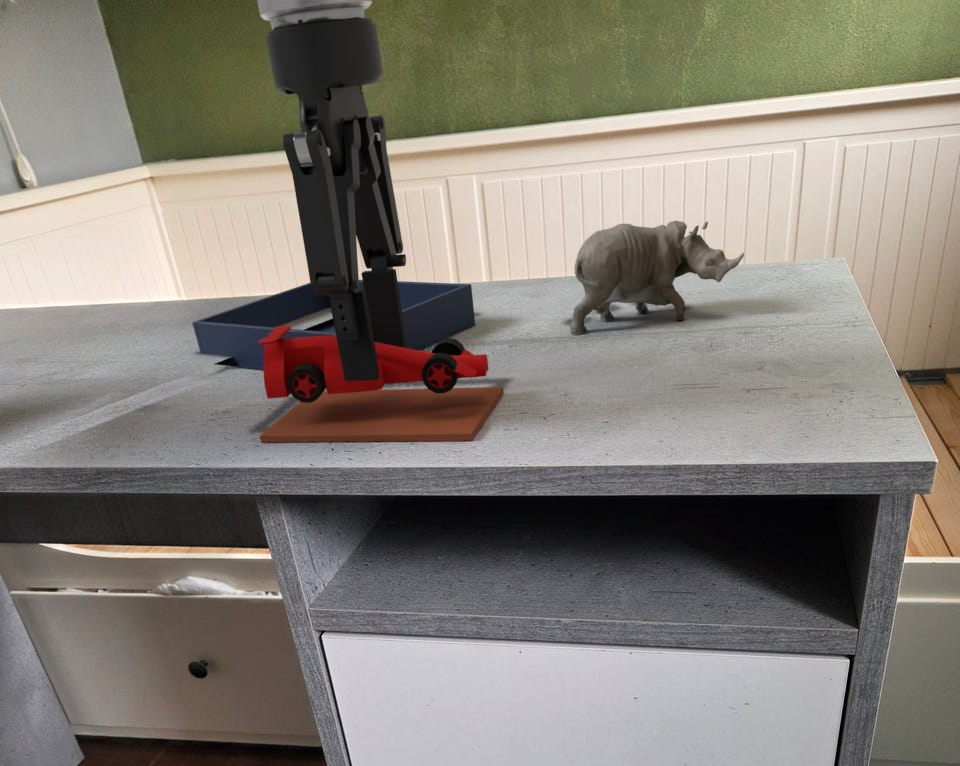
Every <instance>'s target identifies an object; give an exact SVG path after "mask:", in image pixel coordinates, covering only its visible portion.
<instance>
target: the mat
mask: <svg viewBox="0 0 960 766" xmlns="http://www.w3.org/2000/svg"><path fill="white" fill-rule="evenodd" d="M504 391H505V390H504V386H485V387H483V386H481V387H479V386H478V387H453V388H452V389H451V390H450V391H448V392H446V393H435V392H433V391H431V390H429V389H428V388H409V389H408V388H401V389H399V388H398V389H380V390H374V391H364V392H353V393H340V394H327V390H324V392H323V393H322V394H321V395H320V397H319V398H318V399H317V400H316V401H314V402H311V403H303V402H301V401H299V402H298V403H297V404H296V405H294V406H293V407H292V408H291V409H289V410H288V411H287V412H286V413H285V414H283V416H281V417H280V418H278V420H276V421H275V422H274V423H273V424H271V426H269V427H268V428H266V430H265V431H263V432H262V433H261V434H259V440H260V443H341V442H342V443H350V442H353V443H355V442H356V443H357V442H361V443H362V442H367V443H368V442H463V441H464V442H467V441H468V442H471V441H473V440H474V438H475V437H476V435H477V434H478V433H479V431H480V429H481V428H482V426H483V425H484V424H485V422H486V420H487V419H488V418H489V416H490V415H491V413H492V411H493V410H494V409H495V407H496V406H497V404H498V402H499V401H500V400H501V398H502V396H503V395H504Z"/></svg>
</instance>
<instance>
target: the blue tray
mask: <svg viewBox="0 0 960 766" xmlns="http://www.w3.org/2000/svg"><path fill="white" fill-rule="evenodd" d="M397 281H398V280H397ZM398 287H399V294H400V301H401V307H402V314H403V321H404V327H405V334H406V341H407V347H408V349H413V350H418V351H423V350H424V349H426V348H429V347H431V346H434V345H436V344H437V343H438V342H439V341H440V340H442V339H445V338H451V337H453V336H455V335H457V334H459V333H461V332H463V331H465V330H468V329H470V328H472V327H475V326H476V317H475V307H474V298H473V289H472V284H471V283H451V282H425V281H403V280H402V281H401V280H399V281H398ZM359 290H364V286H363V280H362V279H359ZM328 308H330V309H331V306H330V301H329V296H328V295H318V296H317V295H315V293H314V291H313V289H312V287H311V283H310V282H308V283H304V284H302V285H298V286H296V287H292V288H289V289H287V290H284V291H281V292H278V293H275V294H272V295H269V296H266V297H263V298H260V299H257V300H254V301H251V302H248V303H245V304H242V305H239V306H235V307H234V308H231V309H227V310H224V311H221V312H219V313H216V314H212V315H209V316H207V317H204V318H200V319H197V320H195V321H192V322H191V323H192V327H193V331H194V334H195V338H196V341H197V345H198V349H199V352H200V354H204V355H212V356H213V355H214V356H222V357H228V358H226V359H223V360H221V361H218V362H215V363H214V365H219V366H225V367H226V366H227V367H234V368H240V369H241V368H242V369H250V370H259V371H264V346H265V344H258V342H259V341H260V340H261V339H263V338H265V337H268V336H269V333H271V332H273V329H274V328H275V327H277V326H283V325H285V324H288V323H291V322H293V321H296V320H298V319H301V318H304V317H307V316H309V315H312V314H314V313H317V312H320V311H322V310H326V309H328ZM312 336H336V332H335V327H334V322H333V318H330V319H327V320H324V321H323V322H319V323H317V324H315V325H311V326H309V327H306V328H304V329H295V328H291V329H290V330H289V331H288V332H287V333H286V334H285V335H284V336H283V337H282V339H288V338H300V337H312Z"/></svg>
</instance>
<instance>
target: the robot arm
mask: <svg viewBox="0 0 960 766" xmlns="http://www.w3.org/2000/svg"><path fill="white" fill-rule="evenodd" d="M256 2H257V6H258V13H259V17H260V18H262V19H263V20H264V21H266V22H270V28H271V30H268V31H267V32H266V33H267V36H265V38H264V39H265V44H266V48H267V54H268V59H269V64H270V69H271V73H272V74H271V75H272V79H273V84H274V88H275V90H276V91H277V92H278V93H279V94H280V95H282V96H283V95H284V96H286V95H295V94H296V96H297V97H298V108H299V109H298V110H299V127H300V128H299V130H298V131H295V132H287V133H284V134H283V135H282V145H283V148H284V152H285V155H286V158H287V162H288V166H289V168H290V171H291V175H292V180H293V181H292V182H293V186H294V187H293V188H294V192H295V199H296V205H297V211H298V216H299V223H300V228H301V229H300V230H301V235H302V240H303V246H304V253H305V258H306V259H305V260H306V263H307V270H308V277H309V283H311V287H312V289H313V291H314V293H315V295H317V296H318V295H328V296H329V301H330V306H331V308H330V311H331V316H332V319H333V322H334V327H335V332H336V337H337V343H338V348H339V353H340V358H341V364H342V369H343V374H344V379H345V381H361V380H378V379H379V378H380V372H379V367H378V361H377V355H376V349H375V343H374V342H378V343H383V344H388V345H393V346H398V347H403V348H408V347H407V341H406V334H405V327H404V321H403V314H402V307H401V301H400V294H399V287H398V275H397V267H398V268H400V267H405V266H406V265H407V256H406V254H405V253H403V251H404V243H403V238H402V231H401V227H400V226H401V225H400V219H399V213H398V208H397V203H396V202H397V201H396V197H395V191H394V186H393V179H392V174H391V167H390V162H389V156H388V147H387V135H386V133H387V132H386V122H385V119H384V116H383V115H381V114H377V115H370V114H369V110H368V107H367V103H366V100H365V96H364V93H363V86H366V85H371V84H378V83H379V82H381V80H382V78H383V75H384V74H383V73H384V71H383V63H382V56H381V49H380V43H379V35H378V29H377V23H374V21H373V19H372V18H371V17H370V18H369V17H366V13H365V10H367V9H369V8H370V6H371V5H372V3H373V0H256ZM357 243H358V245H359V249H360V253H361V256H362V259H363V262H364V266H365V268H366V269H369V270H364V271H363V272H361V280H363V286H364V290H359V280H360V278H359V264H358V263H359V262H358V245H357ZM402 253H403V254H402ZM370 269H371V270H370Z"/></svg>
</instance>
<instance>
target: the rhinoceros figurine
mask: <svg viewBox="0 0 960 766" xmlns="http://www.w3.org/2000/svg"><path fill="white" fill-rule="evenodd" d="M708 224H709V222H708V221H705V222H704V223H703V224H702V227H701V230H706V229H707V228H708ZM699 227H700V226H699V225H697V224H696V225H695V226H694V228H693V230H691V231H688V233H689V234H688V235H686V232H687V228H688V226H687V224H686V222H684V221H679V220H672V221H668V223H667V224H666V225H664V224H660V225H658V226H654V227H648V226H638V225H633V224H632V223H619V224H616V225H614V226H612V227H609V228H605V229H601V230H597V231H595V232H593V233H592V234H591V235H590V236H588V238H586V239H585V240H584V241H583V243H582V244H581V247H580V248H579V250H578V252H577V255H576V258H575V263H574V268H573V269H574V275H575V278H576V279H577V280H578V282H580V283H581V285H582V287H583V290H584V297H583V298H582V299H581V301H580V302H578V304H576V305H575V307H574V309H573V314H572V319H571V320H572V321H571V322H570V324H569V328H570V330H569V331H570V333H572V334H573V335H576V336H577V335H584V334H586V333H588V332H589V331H588V329H587V327H586V325H585V319H586V317H587V316H589V315H591V313H592V312H593V311H596V313H598V314H599V321H602V322H605V323H606V322H609V323H611V321H612V319H615V316H614V314H613V312H612V311H611V310H610V307H611V304H613V303H622V304H635V303H636V304H635V309H636V313H635V314H636V315H637V314H647V313H646V312H648V313H650V310H649V308H648V305H647V304H649V305H654V306H662V307H663V306H667V305H672V306H673V307H674V308H675V311H676V317H675V320H676V321H677V320H682V321H684V320H686V319H685V318H686V317H685V310H686V303H685V300H684V298H683V296H681V294H680V293H679V292H678V291H677V289H676V288H675V286H674V281H675V279H677V278H679V277H682V276H684V275H686V274H689V273H690V274H691V273H692V274H694V275H697V276H698V277H699V278H700V279H701V280H714V281H716V282H717V283H721V281H722V280H723V278H724V277H725V275H726V274H728V273H729V272H730V271H731V270H733V269H735V268H737V266H739V264H740V263H741V261H742V260H743V258H744V256H745V252H742V253H741V254H740V255H738V256H737V257H736V258H733V259H729V258H726V255H725V252H724V250H722V249H719V248H718V249H715V248H712V247H710V246H709V244H707V242H706V241H705V239H704V238H703V237H702V235H701V234H698V231H699ZM685 235H686V236H685ZM683 319H684V320H683Z"/></svg>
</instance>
